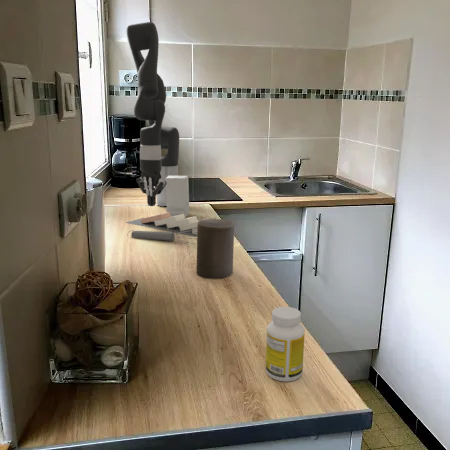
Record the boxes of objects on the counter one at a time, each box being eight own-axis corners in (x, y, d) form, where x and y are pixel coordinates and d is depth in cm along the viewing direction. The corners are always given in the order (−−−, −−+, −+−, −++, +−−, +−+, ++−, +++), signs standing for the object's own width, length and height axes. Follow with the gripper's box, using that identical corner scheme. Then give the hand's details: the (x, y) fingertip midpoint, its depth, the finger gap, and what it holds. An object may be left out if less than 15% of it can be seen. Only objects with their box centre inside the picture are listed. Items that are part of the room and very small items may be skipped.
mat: (143, 218, 186) (143, 217, 186) (212, 231, 169) (212, 230, 169) (125, 223, 178) (125, 222, 178) (195, 237, 161) (195, 236, 161)
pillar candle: (200, 280, 123) (202, 223, 119) (192, 267, 132) (193, 214, 128) (237, 277, 125) (239, 221, 122) (227, 265, 135) (229, 213, 131)
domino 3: (175, 220, 174) (196, 215, 168) (176, 225, 174) (197, 220, 168) (166, 223, 170) (187, 218, 164) (167, 228, 170) (189, 223, 164)
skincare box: (189, 214, 195) (189, 175, 191) (186, 217, 188) (186, 178, 184) (169, 213, 195) (168, 174, 192) (165, 216, 189) (165, 177, 185)
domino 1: (149, 216, 181) (169, 212, 175) (150, 220, 181) (170, 216, 175) (140, 218, 176) (160, 214, 171) (141, 223, 177) (161, 219, 171)
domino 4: (188, 223, 171) (209, 217, 165) (189, 228, 171) (211, 222, 165) (179, 226, 167) (201, 220, 161) (180, 231, 167) (202, 225, 161)
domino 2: (163, 218, 177) (183, 213, 171) (164, 223, 177) (185, 218, 171) (154, 221, 173) (175, 216, 167) (155, 226, 173) (176, 221, 167)
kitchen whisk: (132, 235, 163) (131, 217, 162) (225, 247, 152) (226, 228, 151) (122, 240, 158) (121, 221, 156) (218, 253, 147) (219, 233, 145)
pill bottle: (298, 363, 85) (302, 304, 82) (305, 382, 79) (309, 320, 76) (263, 363, 85) (265, 304, 82) (267, 383, 79) (270, 320, 76)
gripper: (129, 157, 172) (130, 205, 176) (158, 160, 165) (158, 209, 169) (143, 155, 178) (145, 201, 182) (172, 158, 171) (172, 206, 175)
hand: (151, 205), depth 176 cm, fingers closed
